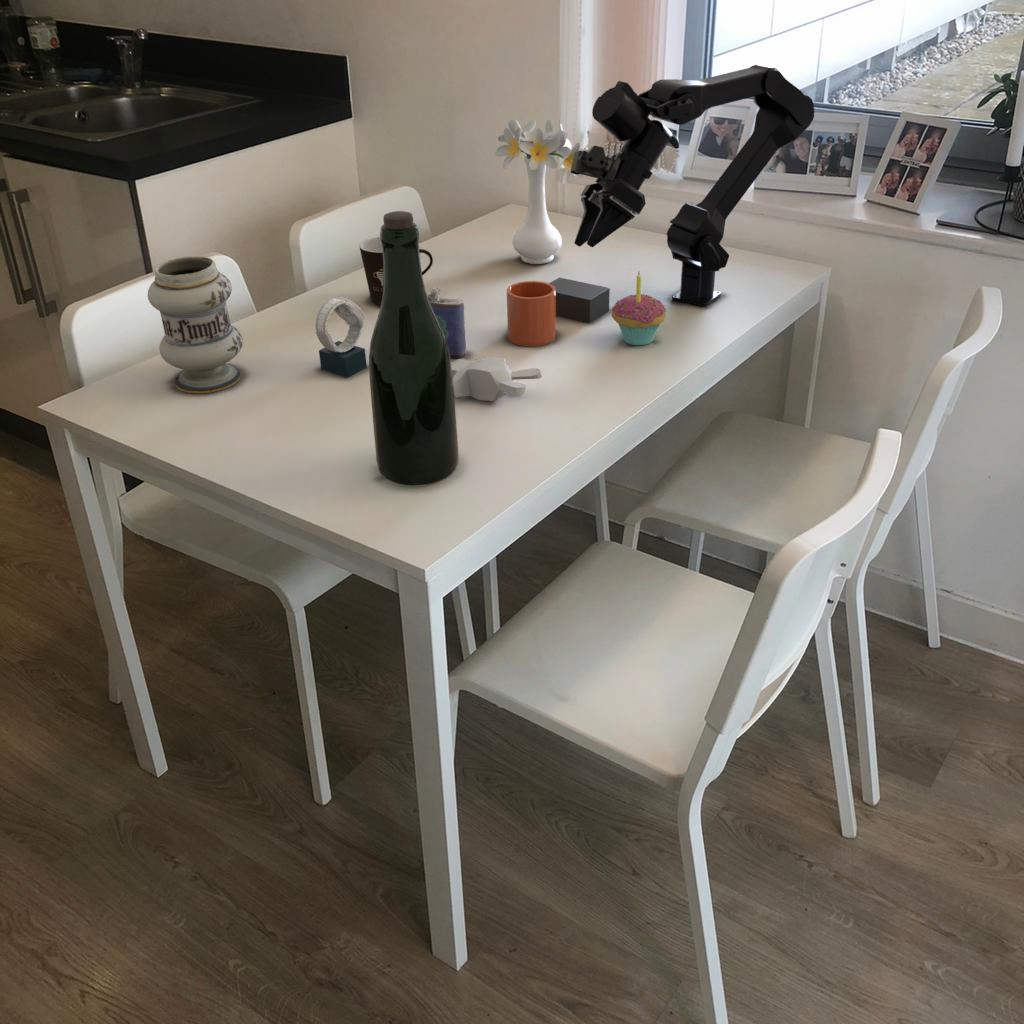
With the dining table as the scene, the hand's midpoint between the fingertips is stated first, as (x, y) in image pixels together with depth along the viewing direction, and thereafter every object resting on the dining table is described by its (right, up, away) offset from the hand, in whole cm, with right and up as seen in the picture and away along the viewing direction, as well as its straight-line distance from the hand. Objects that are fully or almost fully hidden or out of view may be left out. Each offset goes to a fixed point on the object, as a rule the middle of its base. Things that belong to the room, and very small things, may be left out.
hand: (582, 245), depth 168 cm
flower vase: (-5, +6, +37) cm, 38 cm away
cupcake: (+9, -14, +3) cm, 17 cm away
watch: (-37, -20, -3) cm, 42 cm away
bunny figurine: (-15, -25, -12) cm, 31 cm away
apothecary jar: (-57, -22, -6) cm, 61 cm away
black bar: (-1, -8, +14) cm, 16 cm away
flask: (-23, -17, +1) cm, 28 cm away
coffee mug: (-31, -5, +20) cm, 37 cm away
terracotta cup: (-8, -14, +5) cm, 16 cm away
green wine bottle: (-23, -36, -30) cm, 52 cm away
